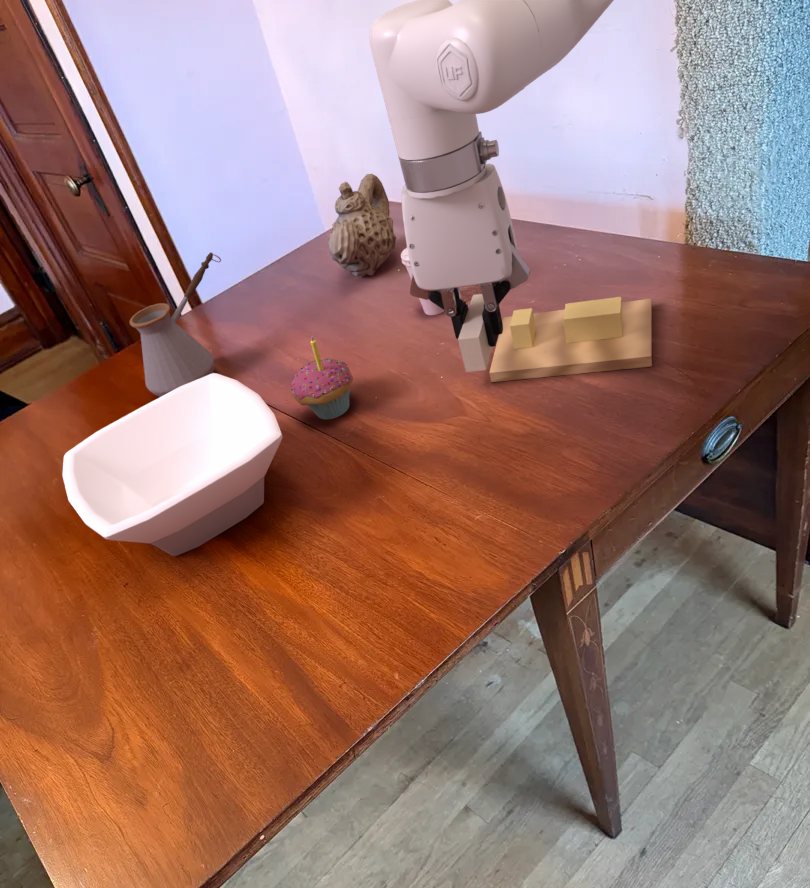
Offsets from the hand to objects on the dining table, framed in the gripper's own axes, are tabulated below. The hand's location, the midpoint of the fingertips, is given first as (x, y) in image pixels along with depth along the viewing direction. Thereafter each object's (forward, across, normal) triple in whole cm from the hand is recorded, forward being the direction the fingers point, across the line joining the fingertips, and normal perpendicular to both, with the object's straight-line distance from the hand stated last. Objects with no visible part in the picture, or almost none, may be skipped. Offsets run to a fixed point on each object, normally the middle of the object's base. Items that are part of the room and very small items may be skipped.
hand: (481, 340), depth 80 cm
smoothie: (+13, +16, -33) cm, 39 cm away
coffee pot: (+13, +52, -23) cm, 59 cm away
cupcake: (+13, +25, -8) cm, 30 cm away
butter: (+11, -10, -19) cm, 24 cm away
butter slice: (+11, -1, -19) cm, 22 cm away
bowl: (+13, +37, +11) cm, 41 cm away
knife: (+1, 0, -5) cm, 5 cm away
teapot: (+13, +32, -52) cm, 62 cm away
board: (+13, -7, -19) cm, 24 cm away
